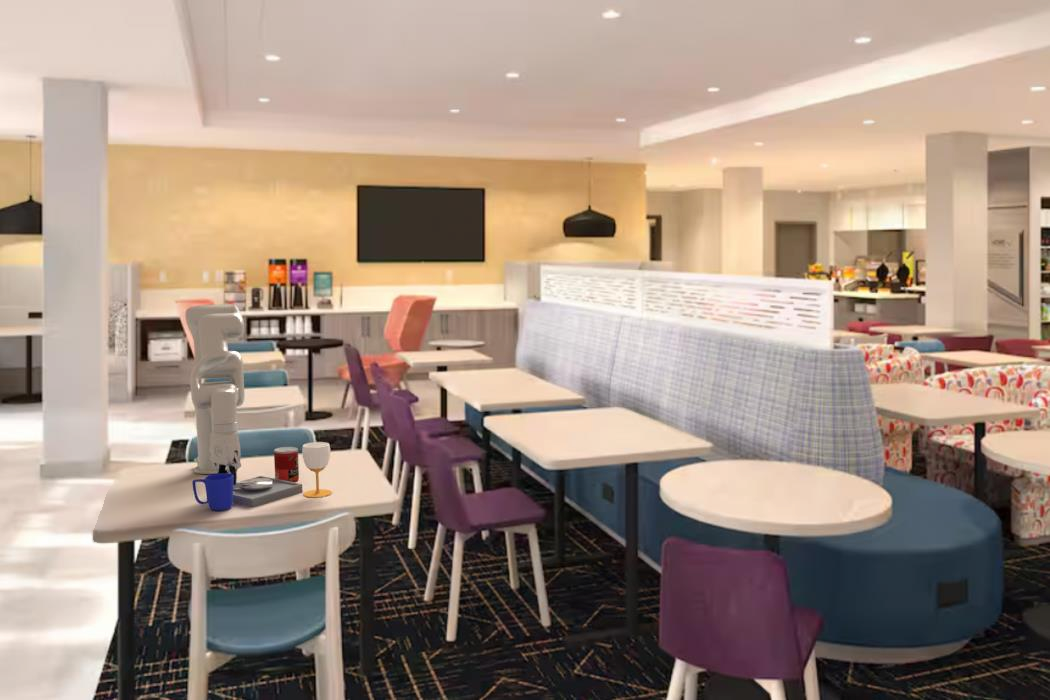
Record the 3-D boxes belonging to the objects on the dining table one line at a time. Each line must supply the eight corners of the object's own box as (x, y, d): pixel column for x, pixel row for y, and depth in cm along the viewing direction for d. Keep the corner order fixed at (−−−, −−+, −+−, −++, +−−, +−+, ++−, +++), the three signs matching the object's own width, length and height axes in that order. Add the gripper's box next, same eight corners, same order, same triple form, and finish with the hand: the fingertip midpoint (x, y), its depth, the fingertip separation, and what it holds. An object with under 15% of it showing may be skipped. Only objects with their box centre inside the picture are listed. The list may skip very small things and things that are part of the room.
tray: (210, 497, 281) (210, 489, 281) (260, 483, 297) (260, 475, 297) (252, 507, 270) (252, 498, 270) (302, 491, 287) (302, 484, 286)
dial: (274, 481, 289) (273, 459, 288) (271, 489, 279) (270, 466, 278) (229, 483, 287) (228, 461, 286) (224, 491, 277) (223, 469, 276)
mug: (197, 505, 272) (196, 473, 271) (237, 504, 273) (236, 472, 272) (190, 513, 264) (188, 480, 263) (231, 512, 265) (229, 479, 264)
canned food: (293, 484, 296) (291, 452, 295) (271, 483, 298) (269, 451, 296) (303, 478, 303) (301, 447, 302) (281, 477, 305) (280, 446, 304)
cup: (307, 499, 278) (305, 449, 276) (300, 492, 286) (298, 443, 284) (335, 495, 282) (333, 446, 280) (328, 488, 290) (326, 440, 288)
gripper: (198, 426, 279) (200, 482, 282) (231, 433, 270) (233, 491, 272) (218, 422, 285) (220, 477, 288) (251, 429, 276) (253, 486, 279)
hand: (227, 483), depth 280 cm, fingers open, 3 cm apart
